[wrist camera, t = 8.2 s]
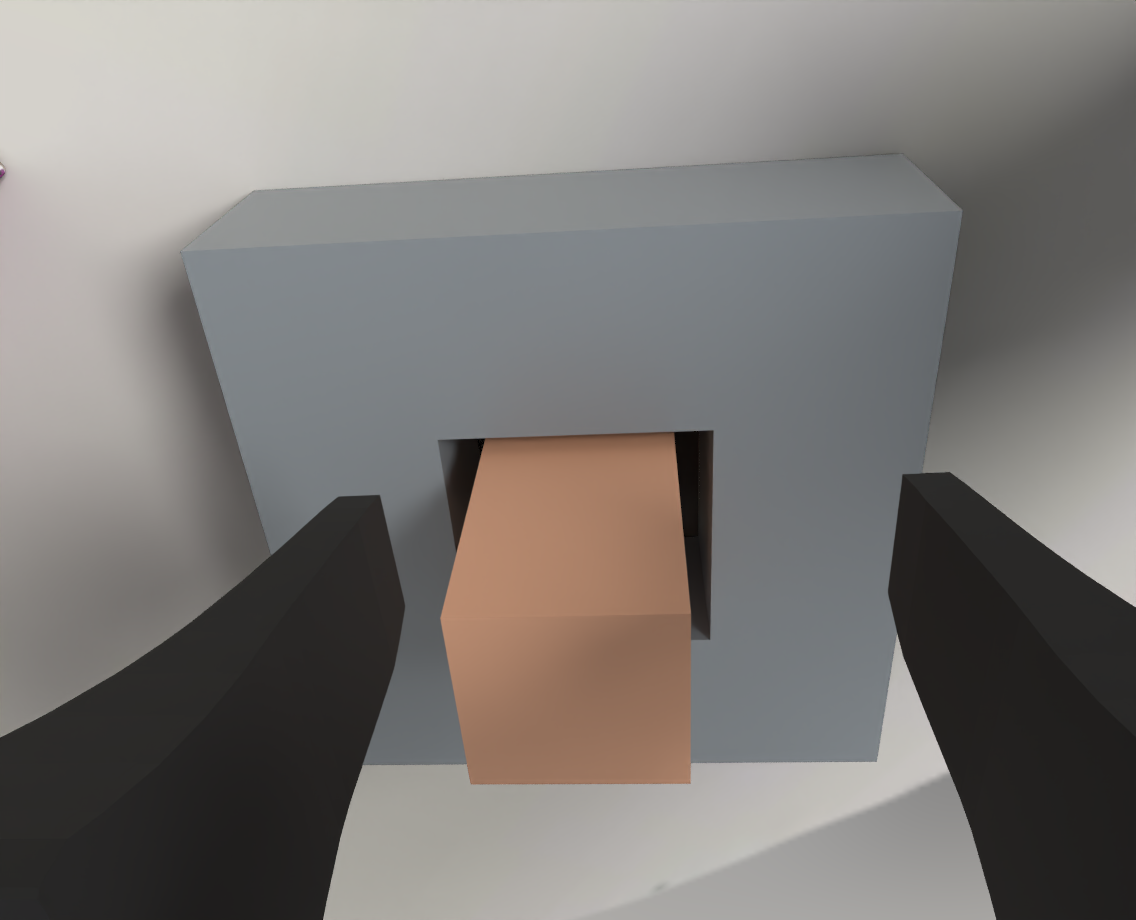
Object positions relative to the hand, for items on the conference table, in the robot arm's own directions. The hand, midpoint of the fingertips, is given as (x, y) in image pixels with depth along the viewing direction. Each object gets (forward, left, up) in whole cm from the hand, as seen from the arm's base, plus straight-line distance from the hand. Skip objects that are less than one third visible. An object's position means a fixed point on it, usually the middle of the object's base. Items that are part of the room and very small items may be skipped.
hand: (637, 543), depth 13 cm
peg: (+1, +4, -10) cm, 11 cm away
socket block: (+1, +4, -10) cm, 11 cm away
